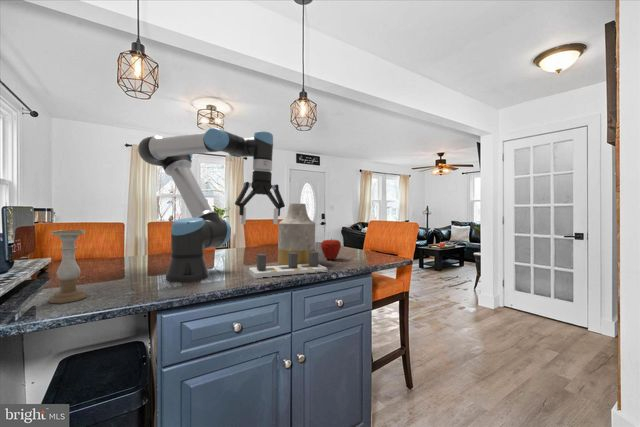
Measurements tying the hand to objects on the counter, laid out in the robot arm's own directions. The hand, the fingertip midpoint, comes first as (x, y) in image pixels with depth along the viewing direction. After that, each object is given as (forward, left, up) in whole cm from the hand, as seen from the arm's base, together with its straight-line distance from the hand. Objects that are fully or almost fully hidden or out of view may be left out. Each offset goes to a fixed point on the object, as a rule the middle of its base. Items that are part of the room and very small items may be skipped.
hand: (259, 224), depth 119 cm
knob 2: (+8, +14, -19) cm, 25 cm away
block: (-2, +4, -19) cm, 20 cm away
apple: (+14, +51, -22) cm, 57 cm away
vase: (+2, +32, -22) cm, 39 cm away
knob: (+15, +22, -19) cm, 33 cm away
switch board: (+7, +13, -22) cm, 26 cm away
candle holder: (-36, -47, -22) cm, 63 cm away
